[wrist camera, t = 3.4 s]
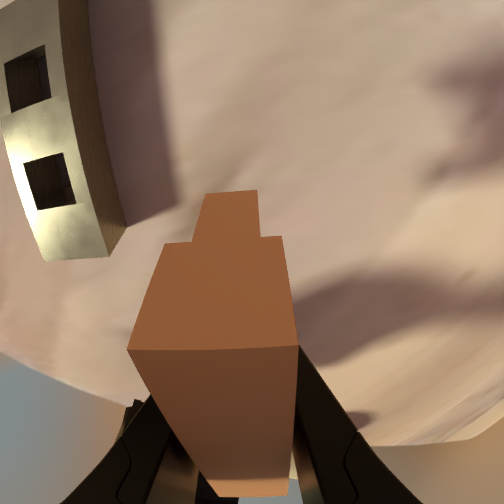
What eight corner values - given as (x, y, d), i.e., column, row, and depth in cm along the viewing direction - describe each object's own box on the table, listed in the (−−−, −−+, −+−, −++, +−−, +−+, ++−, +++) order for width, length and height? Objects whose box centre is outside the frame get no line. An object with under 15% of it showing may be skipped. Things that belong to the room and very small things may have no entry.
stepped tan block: (278, 367, 13) (287, 495, 8) (225, 369, 13) (219, 497, 8) (271, 178, 9) (298, 345, 4) (189, 185, 9) (126, 349, 4)
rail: (126, 227, 20) (109, 256, 18) (66, 234, 21) (44, 261, 18) (86, -12, 12) (57, -21, 9) (21, 17, 12) (-12, 16, 9)
